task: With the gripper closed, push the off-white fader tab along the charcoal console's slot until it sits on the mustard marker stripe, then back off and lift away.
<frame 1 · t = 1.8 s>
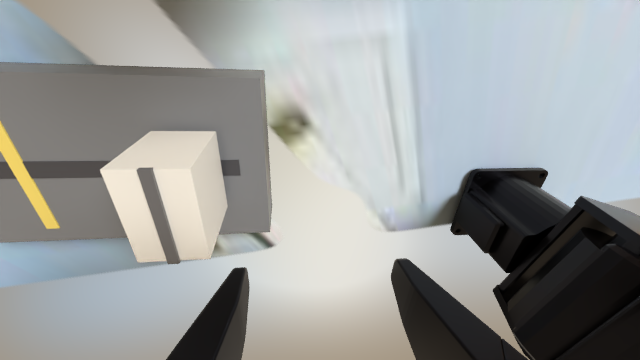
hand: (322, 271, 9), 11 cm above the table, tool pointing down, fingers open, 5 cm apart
fader tab: (178, 193, 13), point 6 cm above the table, slide at 1.0 cm
fader console: (128, 147, 17), on the table
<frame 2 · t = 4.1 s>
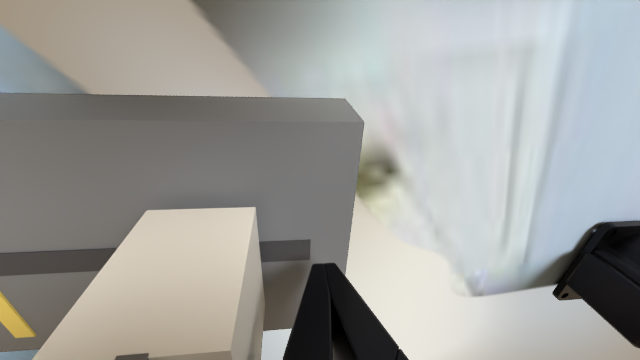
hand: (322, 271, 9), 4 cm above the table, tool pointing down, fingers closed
fader tab: (195, 325, 7), point 6 cm above the table, slide at 1.9 cm, touching gripper
fader console: (138, 209, 12), on the table
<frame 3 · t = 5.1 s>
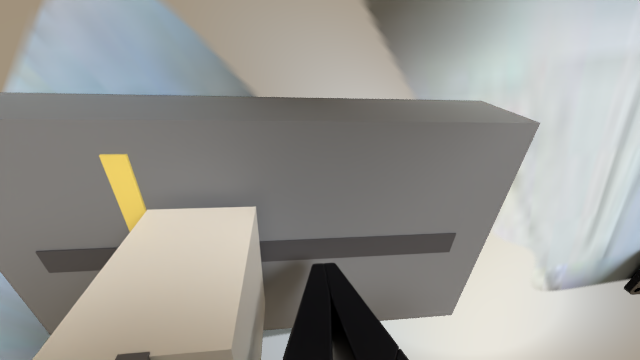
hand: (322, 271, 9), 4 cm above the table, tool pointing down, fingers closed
fader tab: (196, 324, 7), point 6 cm above the table, slide at 7.7 cm, touching gripper
fader console: (269, 205, 13), on the table
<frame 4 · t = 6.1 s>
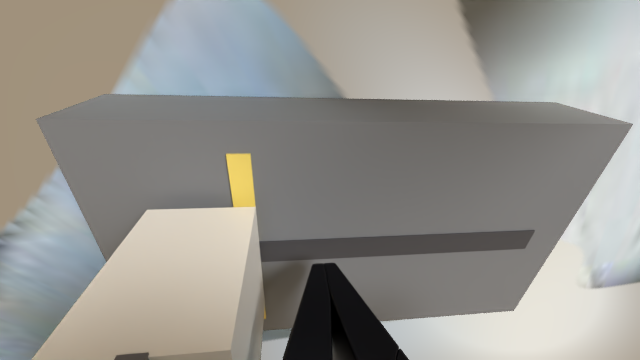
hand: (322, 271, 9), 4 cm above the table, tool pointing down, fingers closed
fader tab: (195, 324, 7), point 6 cm above the table, slide at 11.2 cm, touching gripper
fader console: (341, 203, 13), on the table
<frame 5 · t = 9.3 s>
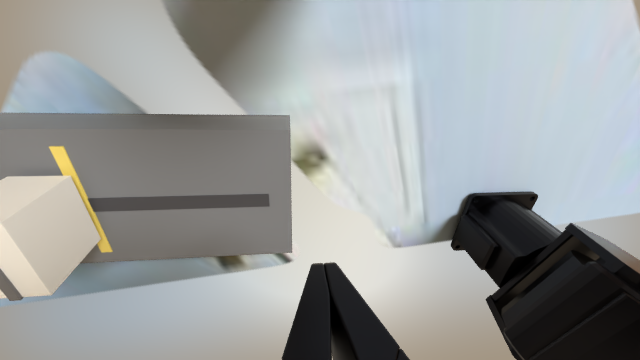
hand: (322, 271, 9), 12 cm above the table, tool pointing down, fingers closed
fader tab: (27, 234, 14), point 6 cm above the table, slide at 11.2 cm
fader console: (169, 180, 20), on the table
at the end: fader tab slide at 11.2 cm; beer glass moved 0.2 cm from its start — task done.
